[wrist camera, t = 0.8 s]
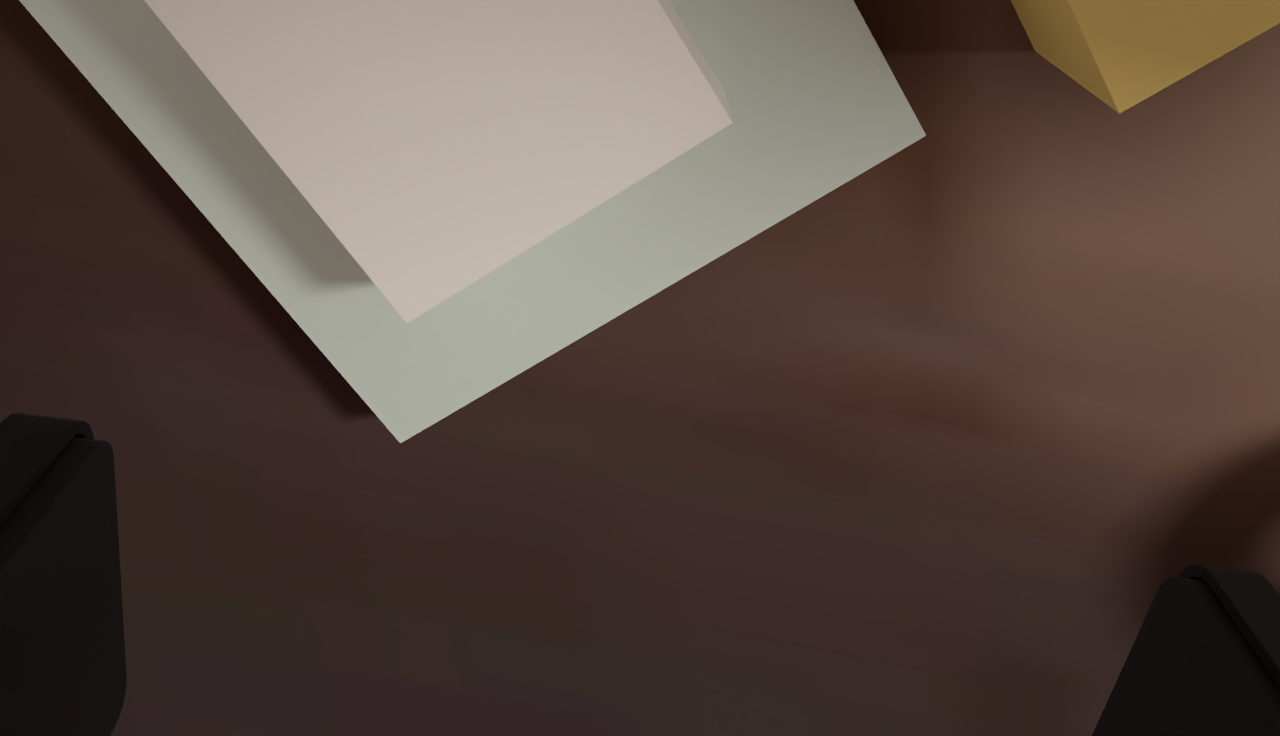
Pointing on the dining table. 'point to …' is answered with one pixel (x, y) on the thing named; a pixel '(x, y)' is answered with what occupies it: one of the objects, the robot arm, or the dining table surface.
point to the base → (564, 275)
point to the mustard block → (1139, 39)
